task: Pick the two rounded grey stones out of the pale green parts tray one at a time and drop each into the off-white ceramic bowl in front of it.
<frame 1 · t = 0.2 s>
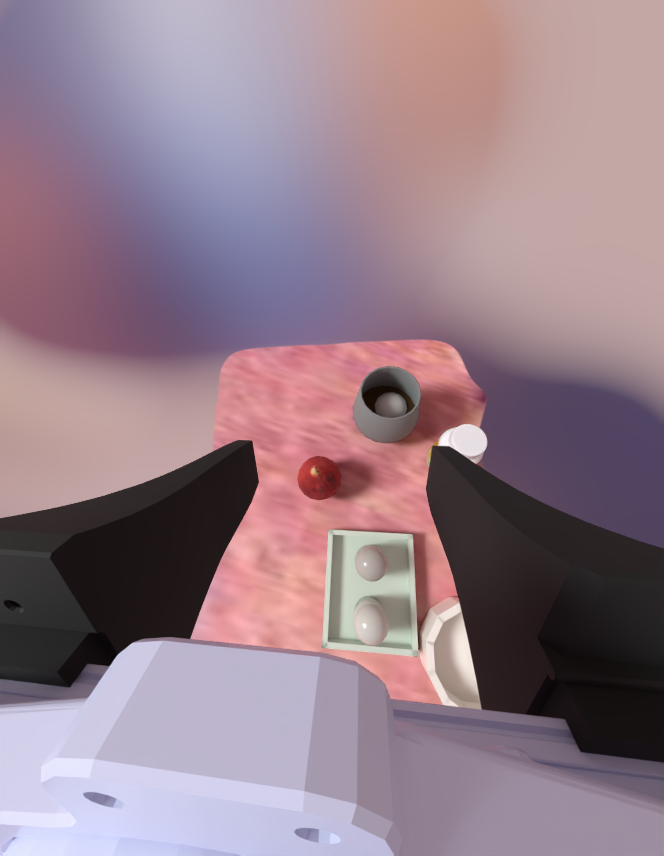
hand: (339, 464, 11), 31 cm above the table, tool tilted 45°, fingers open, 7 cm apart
stone b: (369, 560, 37), resting on tray
tray: (369, 585, 36), on the table
cup: (382, 422, 45), on the table
supplement bottle: (444, 461, 42), on the table
bowl: (466, 649, 33), on the table
stone a: (369, 613, 35), resting on tray
onion: (322, 483, 42), on the table
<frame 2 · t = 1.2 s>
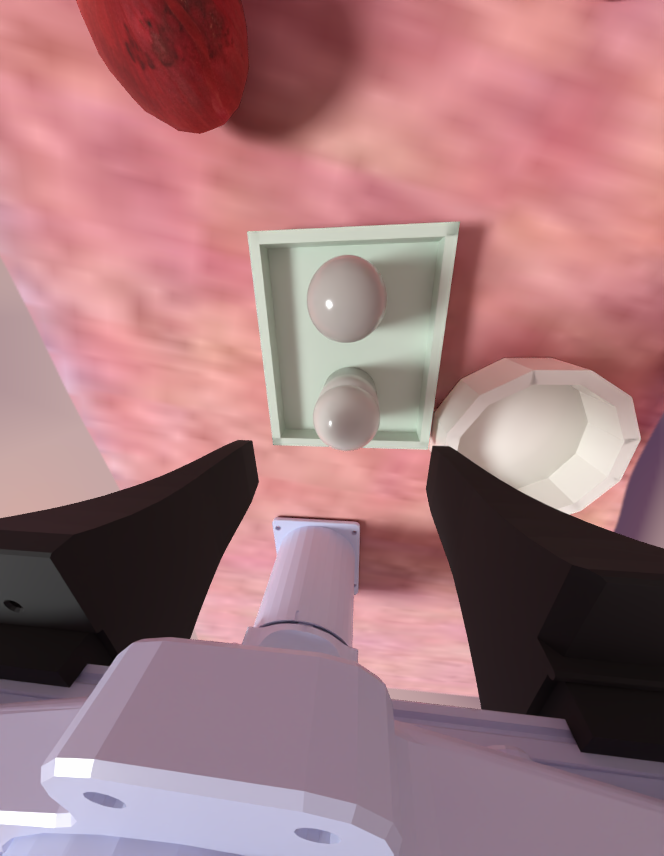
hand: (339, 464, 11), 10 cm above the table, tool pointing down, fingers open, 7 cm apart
stone b: (350, 300, 17), resting on tray
tray: (350, 349, 19), on the table
bowl: (507, 432, 20), on the table
stone a: (349, 393, 20), resting on tray
onion: (216, 90, 14), on the table
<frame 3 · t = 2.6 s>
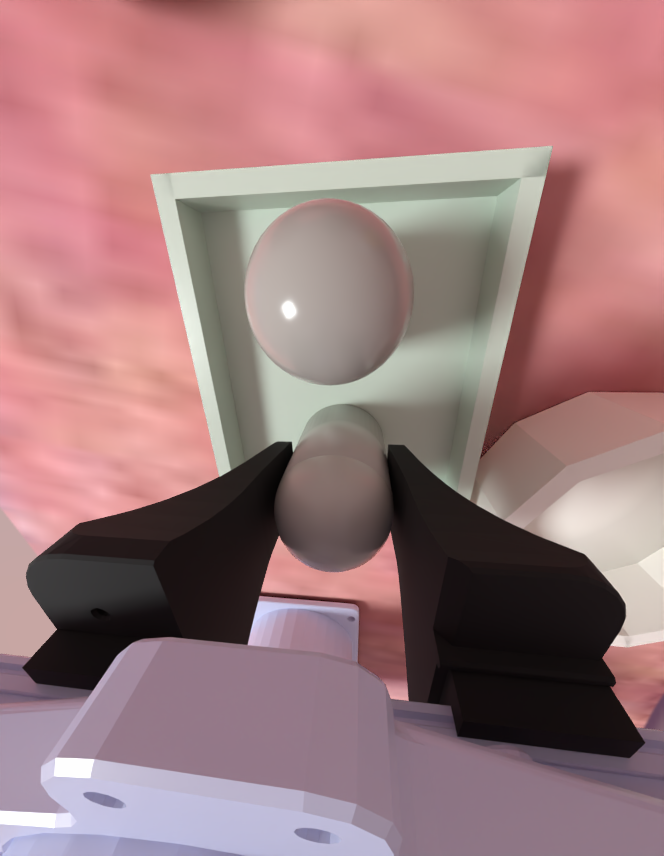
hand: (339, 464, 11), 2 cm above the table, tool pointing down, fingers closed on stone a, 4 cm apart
stone b: (341, 300, 11), resting on tray
tray: (343, 376, 12), on the table
bowl: (580, 498, 14), on the table
stone a: (342, 442, 13), point 1 cm above the table, touching gripper, tray
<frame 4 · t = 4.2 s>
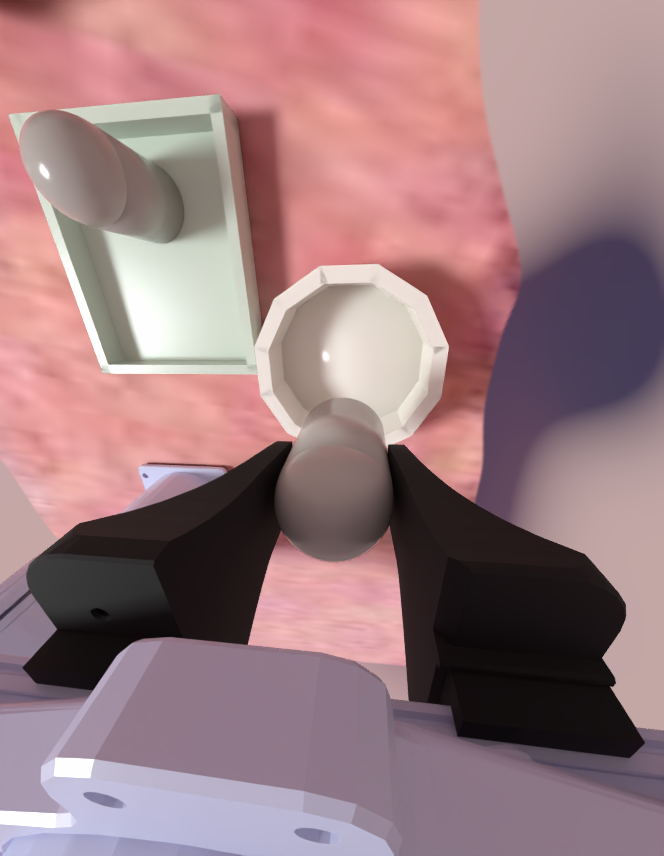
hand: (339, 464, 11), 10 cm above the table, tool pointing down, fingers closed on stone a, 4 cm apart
stone b: (152, 205, 16), resting on tray
tray: (171, 265, 18), on the table
bowl: (350, 360, 19), on the table
stone a: (342, 436, 13), point 8 cm above the table, touching gripper
when the fingers open (5 cm above the table, at t = 5.6 s): stone a drops 2 cm, resting on bowl.
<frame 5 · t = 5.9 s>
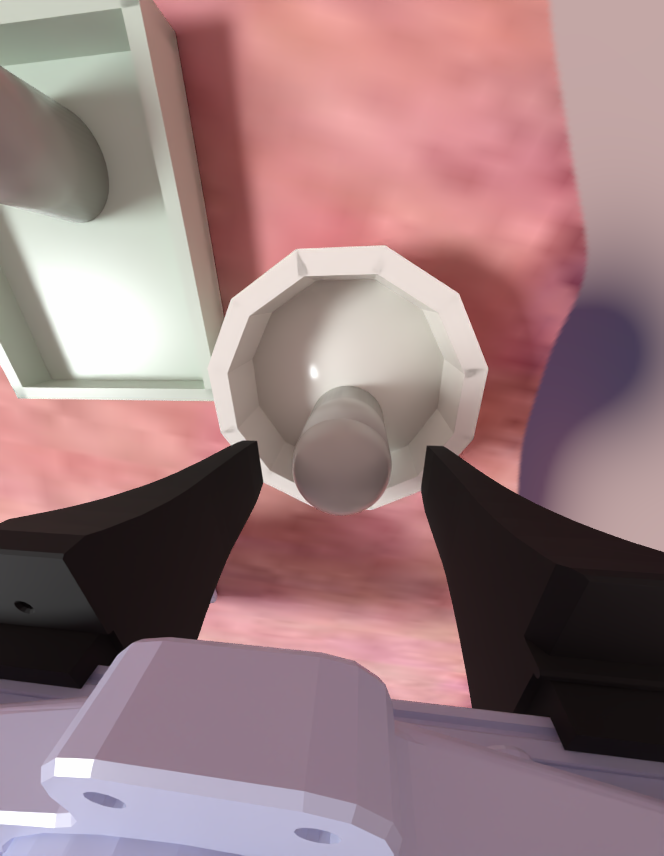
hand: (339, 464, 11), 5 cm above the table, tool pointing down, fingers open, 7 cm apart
stone b: (63, 166, 11), resting on tray
tray: (100, 254, 13), on the table
bowl: (345, 380, 15), on the table
stone a: (347, 420, 15), point 1 cm above the table, touching bowl
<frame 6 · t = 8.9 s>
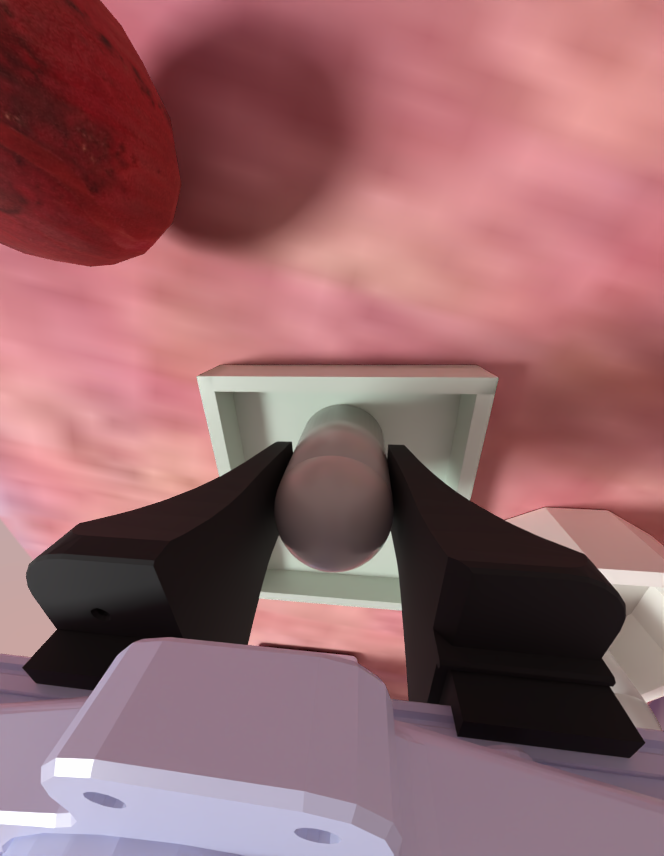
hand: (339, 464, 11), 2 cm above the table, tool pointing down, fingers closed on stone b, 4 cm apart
stone b: (342, 442, 13), resting on tray, touching gripper
tray: (343, 488, 15), on the table
bowl: (543, 582, 16), on the table
stone a: (541, 615, 16), point 1 cm above the table, touching bowl
onion: (149, 183, 10), on the table
when the fingers open (5 cm above the table, at t = 11.9 s): stone b drops 2 cm, resting on bowl.
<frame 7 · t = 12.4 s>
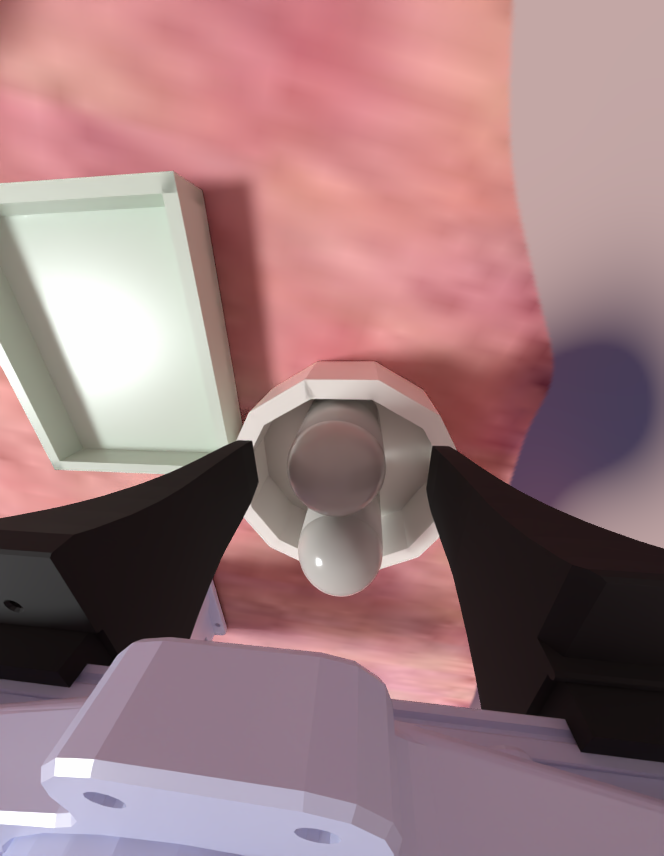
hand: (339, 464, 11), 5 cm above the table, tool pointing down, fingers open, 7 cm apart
stone b: (343, 420, 15), point 1 cm above the table, touching bowl
tray: (131, 350, 15), on the table
bowl: (345, 454, 16), on the table
stone a: (346, 488, 17), point 1 cm above the table, touching bowl
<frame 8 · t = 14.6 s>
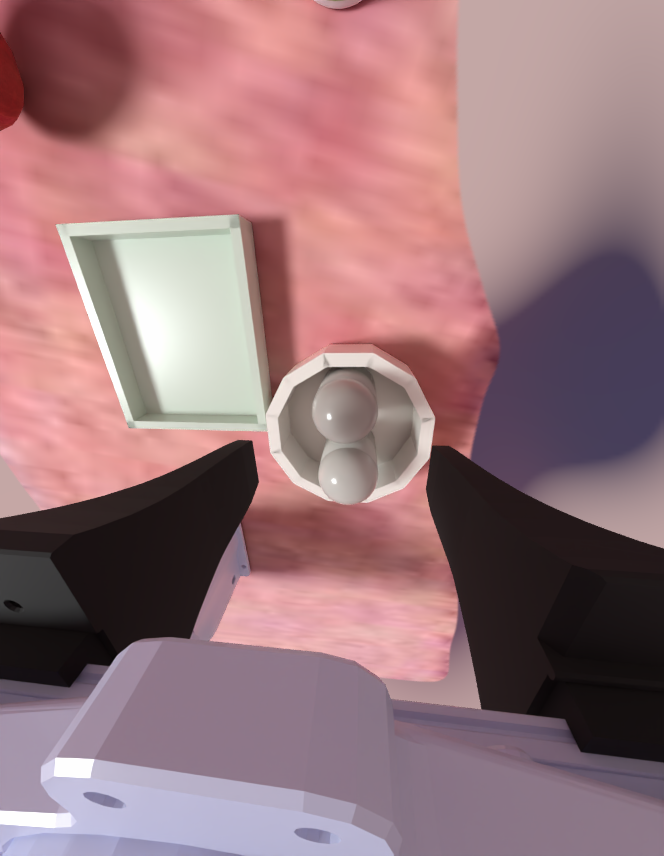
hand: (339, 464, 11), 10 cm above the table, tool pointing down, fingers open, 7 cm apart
stone b: (348, 388, 20), point 1 cm above the table, touching bowl
tray: (190, 336, 20), on the table
bowl: (349, 416, 22), on the table
stone a: (350, 443, 22), point 1 cm above the table, touching bowl
onion: (19, 93, 16), on the table
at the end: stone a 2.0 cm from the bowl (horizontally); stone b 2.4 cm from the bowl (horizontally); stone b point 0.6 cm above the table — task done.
